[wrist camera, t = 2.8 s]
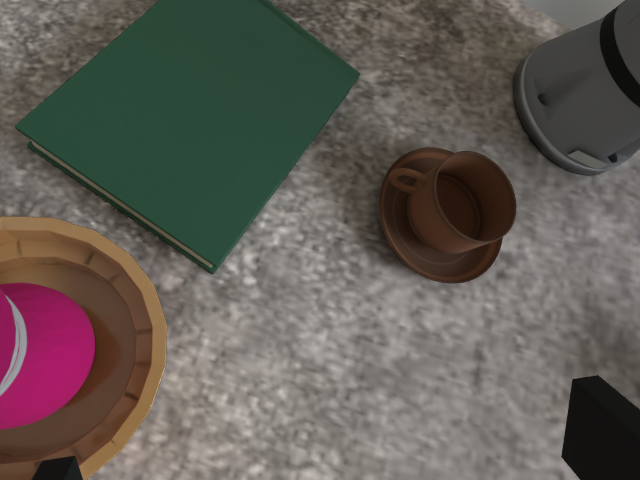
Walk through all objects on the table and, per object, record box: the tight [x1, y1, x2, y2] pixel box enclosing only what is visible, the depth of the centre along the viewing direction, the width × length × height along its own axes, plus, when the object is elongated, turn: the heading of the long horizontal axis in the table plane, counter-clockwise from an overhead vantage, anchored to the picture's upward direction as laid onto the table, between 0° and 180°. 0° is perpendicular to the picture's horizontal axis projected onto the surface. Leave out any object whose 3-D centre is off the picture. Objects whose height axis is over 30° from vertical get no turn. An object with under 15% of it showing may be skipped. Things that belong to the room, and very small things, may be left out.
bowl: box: [0, 216, 167, 480], centre depth 25 cm, size 15×15×5 cm
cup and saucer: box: [379, 148, 516, 283], centre depth 36 cm, size 12×12×6 cm
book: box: [15, 0, 360, 274], centre depth 33 cm, size 20×15×3 cm
